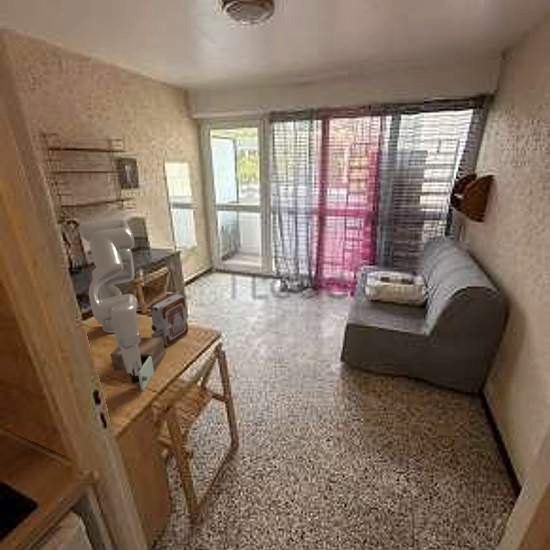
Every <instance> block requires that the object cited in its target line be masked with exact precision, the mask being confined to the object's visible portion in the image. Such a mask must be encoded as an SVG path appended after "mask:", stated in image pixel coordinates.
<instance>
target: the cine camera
mask: <svg viewBox="0 0 550 550" xmlns="http://www.w3.org/2000/svg"><path fill="white" fill-rule="evenodd" d="M149 308H150V314H151V315H150V316H151V320H152V324H151V327H150V328H151V330H152V331H153V333H152V334H151V338H163V341H164V347H165V346H166V347H170V346H172V345H173V344H174V343H176V342H177V341H179V340H181V339H182V338H183V337H185V336H186V335H187V334H188V333H189V326H188V317H187V315H188V314H187V309H186V300H185V297H184V296H183V295H182V294H180V295H179V294H175V293H174V294H173V293H171V294H169V295H166V296H165V297H162V298H159V300H156V301H154V302H152V303H151V304H150V307H149Z"/></svg>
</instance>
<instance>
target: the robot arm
mask: <svg viewBox="0 0 550 550" xmlns="http://www.w3.org/2000/svg"><path fill="white" fill-rule="evenodd" d="M78 231H79V234H80V236H81V238H82V239H83V240H84V241H85V242H86V243H88V244H89V247H90V253H91V257H92V262H93V264H94V265H95V268H94V269H93V270H92V271H91V272H92V273H91V276H92V281H91V282H90V285H89V288H88V297H89V302H90V308H91V311H92V314H93V316H94V319H95V320H97V324H98V325H102V331H103V332H104V333H108V334H114V336H115V337H114V338H115V342H116V345H117V346H118V347H121V352H122V358H123V363H124V366H125V369H126V371H127V372H126V373H127V374H129V375H130V381H131V384H132V385H135V384H137V383H140V381H139V376H138V375H139V369H140V370H141V369H142V364H141V357H140V352H139V347H138V343H139V342H140V340H141V338H142V337H141V333H140V329H139V323H138V317H137V310H138V307H139V302H138V299H137V297H136V296H135V295H134V294H132V293H126V294H123V293H122V291H121V289H120V288H118V286H116V285H119V284H123V283H129V282H131V281H133V280H134V279H135V267H134V258H133V257H134V256H133V253H132V249H133V248H135V247H134V246H135V238H134V237H135V236H134V233H133V231H132V229H131V227H130V226H129V224H128V223H127V221H126V220H124V219H110V220H100V221H89V222H88V221H85V222H81V223H80V225H79V227H78ZM117 346H116V347H117Z"/></svg>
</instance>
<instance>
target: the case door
mask: <svg viewBox="0 0 550 550" xmlns="http://www.w3.org/2000/svg"><path fill="white" fill-rule="evenodd" d="M154 374H155V372H154V368H153V363H152V357H151V356H149V357H148V359H147V360H146V362H145V363H144V365H143V366H142V369H141V370H139V375H138V376H139V381H140V382H139V386H140V390H141V391H144V390H145V389H146V387H147V385H148V384H149V383H150V381H151V379H152V378H153V376H154Z"/></svg>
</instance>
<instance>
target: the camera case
mask: <svg viewBox="0 0 550 550" xmlns="http://www.w3.org/2000/svg"><path fill="white" fill-rule="evenodd" d="M140 338H141V340H140V342H139V343H138V347H139V352H140V357H141V364H142V366H143V365H144V363H145V362H146V360H147V359H148V357H149V356H151V357H152V363H153V368H154V373H155V372H156V371H157V369H158V367H159V366H158V365H161V362H162V360H163V359H164V358H165V356H166V349H165V345H164V341H163V338H152V337H140ZM164 355H165V356H164ZM110 360H111V364H112V367H113V372H114V371H118V372H117V373H121V372H123V373H127V371H126V369H125V366H124V363H123V358H122V352H121V347H118V346H116V347H115V348H114V349H113V350H112V351H111V353H110ZM139 370H140V369H139Z"/></svg>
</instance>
